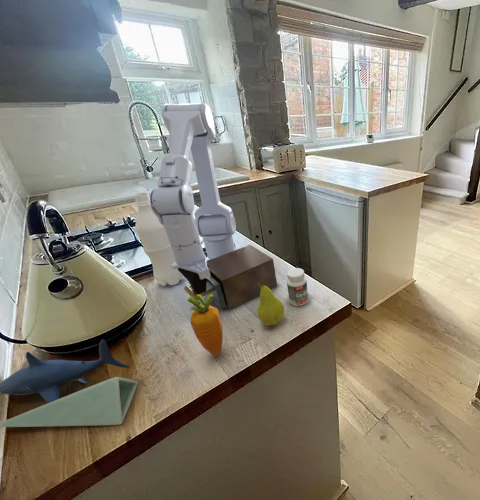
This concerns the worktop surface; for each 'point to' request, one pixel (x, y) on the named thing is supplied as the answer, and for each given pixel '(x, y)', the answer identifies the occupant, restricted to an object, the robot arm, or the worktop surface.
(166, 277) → the water bottle
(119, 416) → the hollow green wedge
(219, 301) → the drawer
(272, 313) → the fruit
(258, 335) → the worktop surface
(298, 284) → the pill bottle
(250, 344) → the worktop surface
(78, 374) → the toy
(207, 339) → the carrot
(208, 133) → the robot arm
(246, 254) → the cabinet
